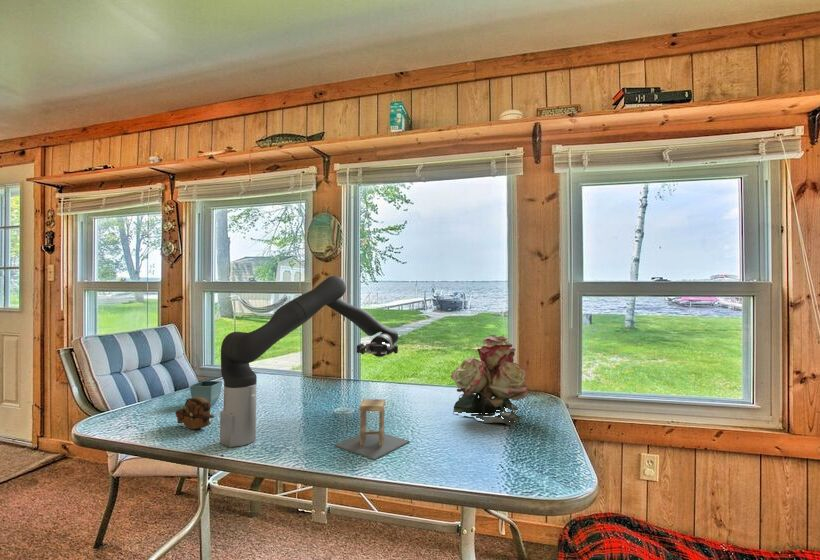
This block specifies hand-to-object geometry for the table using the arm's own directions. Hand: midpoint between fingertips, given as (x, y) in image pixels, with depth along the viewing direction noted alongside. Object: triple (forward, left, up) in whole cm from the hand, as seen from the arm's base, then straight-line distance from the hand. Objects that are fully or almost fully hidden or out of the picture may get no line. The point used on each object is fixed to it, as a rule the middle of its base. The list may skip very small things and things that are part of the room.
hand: (375, 351), depth 129 cm
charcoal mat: (-9, -7, -26) cm, 29 cm away
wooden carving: (-35, +50, -26) cm, 66 cm away
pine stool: (-9, -7, -26) cm, 28 cm away
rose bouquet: (+40, -24, -26) cm, 54 cm away
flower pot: (-20, +73, -26) cm, 80 cm away
